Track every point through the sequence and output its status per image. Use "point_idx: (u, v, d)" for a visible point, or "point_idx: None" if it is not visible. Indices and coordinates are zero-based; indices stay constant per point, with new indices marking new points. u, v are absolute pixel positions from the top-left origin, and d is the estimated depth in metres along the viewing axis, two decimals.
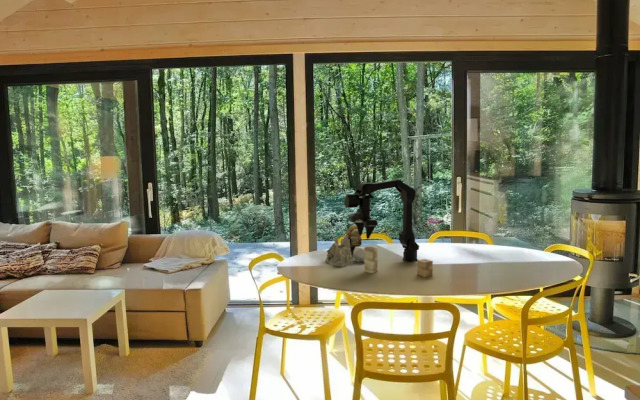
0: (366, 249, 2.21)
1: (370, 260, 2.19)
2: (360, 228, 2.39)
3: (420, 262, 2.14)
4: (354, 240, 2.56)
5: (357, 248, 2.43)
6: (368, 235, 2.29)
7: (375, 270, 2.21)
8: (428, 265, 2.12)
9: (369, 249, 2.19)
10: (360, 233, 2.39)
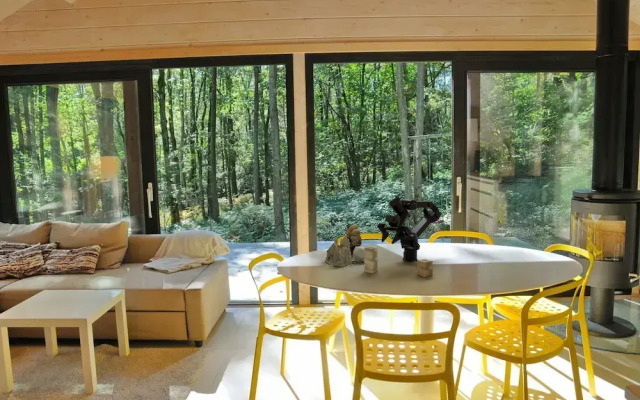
0: (366, 249, 2.21)
1: (370, 260, 2.19)
2: (385, 236, 2.34)
3: (420, 262, 2.14)
4: (354, 240, 2.56)
5: (357, 248, 2.43)
6: (394, 240, 2.28)
7: (375, 270, 2.21)
8: (428, 265, 2.12)
9: (369, 249, 2.19)
10: (383, 240, 2.33)
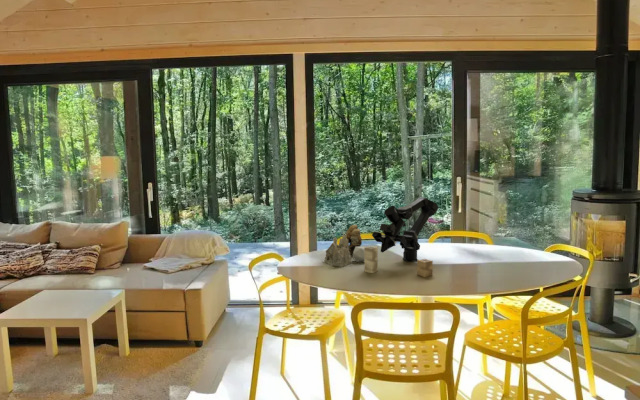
0: (366, 249, 2.21)
1: (370, 260, 2.19)
2: None
3: (420, 262, 2.14)
4: (354, 240, 2.56)
5: (357, 248, 2.43)
6: (384, 249, 2.27)
7: (375, 270, 2.21)
8: (428, 265, 2.12)
9: (369, 249, 2.19)
10: None
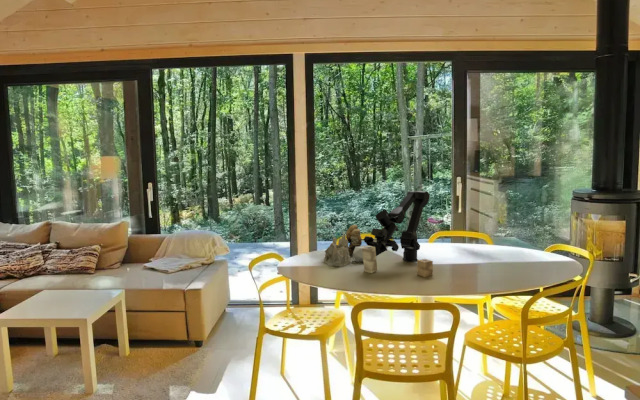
0: (364, 250, 2.20)
1: (369, 260, 2.19)
2: (376, 250, 2.25)
3: (420, 262, 2.14)
4: (354, 240, 2.56)
5: (357, 248, 2.43)
6: (376, 254, 2.23)
7: (375, 269, 2.21)
8: (428, 265, 2.12)
9: (367, 250, 2.18)
10: None
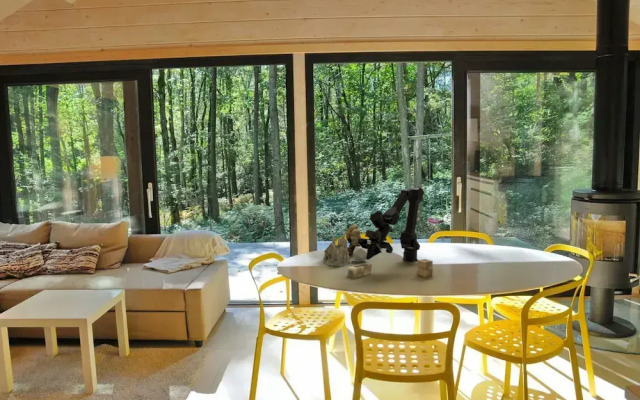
0: None
1: None
2: None
3: (420, 262, 2.14)
4: (354, 240, 2.56)
5: (357, 248, 2.43)
6: (370, 256, 2.20)
7: (370, 268, 2.18)
8: (428, 265, 2.12)
9: None
10: None
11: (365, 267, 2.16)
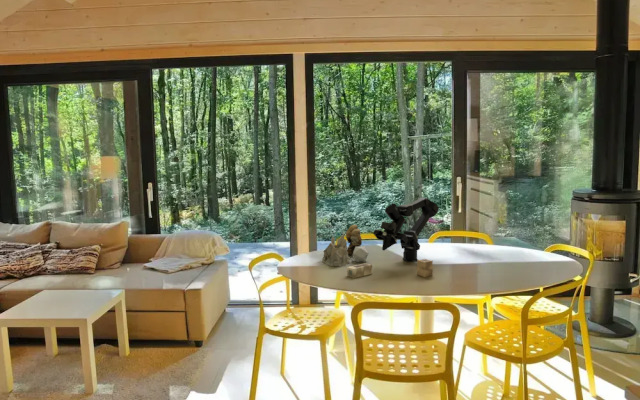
0: None
1: None
2: None
3: (420, 262, 2.14)
4: (354, 240, 2.56)
5: (357, 248, 2.43)
6: (386, 247, 2.28)
7: (370, 268, 2.18)
8: (428, 265, 2.12)
9: None
10: None
11: (365, 267, 2.16)
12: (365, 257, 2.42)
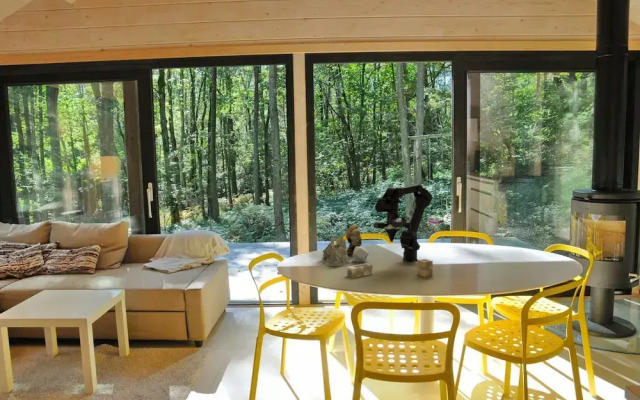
0: None
1: None
2: None
3: (420, 262, 2.14)
4: (354, 240, 2.56)
5: (357, 248, 2.43)
6: None
7: (371, 268, 2.18)
8: (428, 265, 2.12)
9: None
10: None
11: (365, 267, 2.15)
12: (365, 257, 2.42)
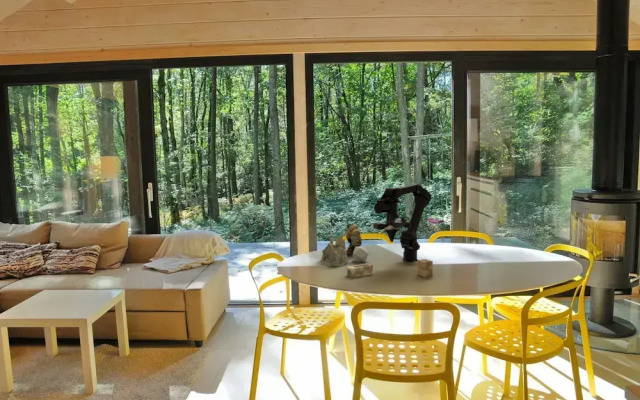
0: None
1: None
2: None
3: (420, 262, 2.14)
4: (354, 240, 2.56)
5: (357, 248, 2.43)
6: None
7: (371, 268, 2.17)
8: (428, 265, 2.12)
9: None
10: None
11: (365, 267, 2.15)
12: (365, 257, 2.42)
